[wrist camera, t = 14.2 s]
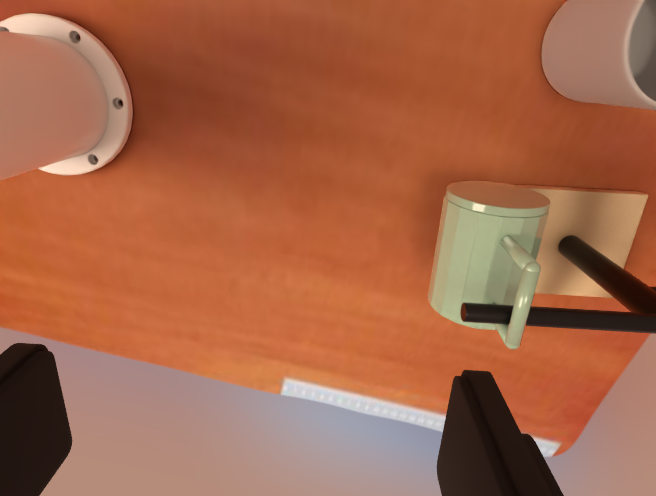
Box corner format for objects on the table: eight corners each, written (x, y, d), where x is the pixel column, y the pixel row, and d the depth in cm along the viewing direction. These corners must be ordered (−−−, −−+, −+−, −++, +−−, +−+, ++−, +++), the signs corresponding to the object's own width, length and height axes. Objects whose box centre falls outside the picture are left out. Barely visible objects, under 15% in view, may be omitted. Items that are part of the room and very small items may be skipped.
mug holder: (415, 280, 42) (453, 385, 28) (430, 179, 39) (481, 241, 24) (612, 292, 42) (748, 403, 28) (645, 191, 39) (822, 261, 24)
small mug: (527, 183, 34) (502, 286, 37) (437, 178, 34) (421, 281, 37) (610, 238, 23) (564, 373, 27) (480, 230, 23) (452, 367, 27)
